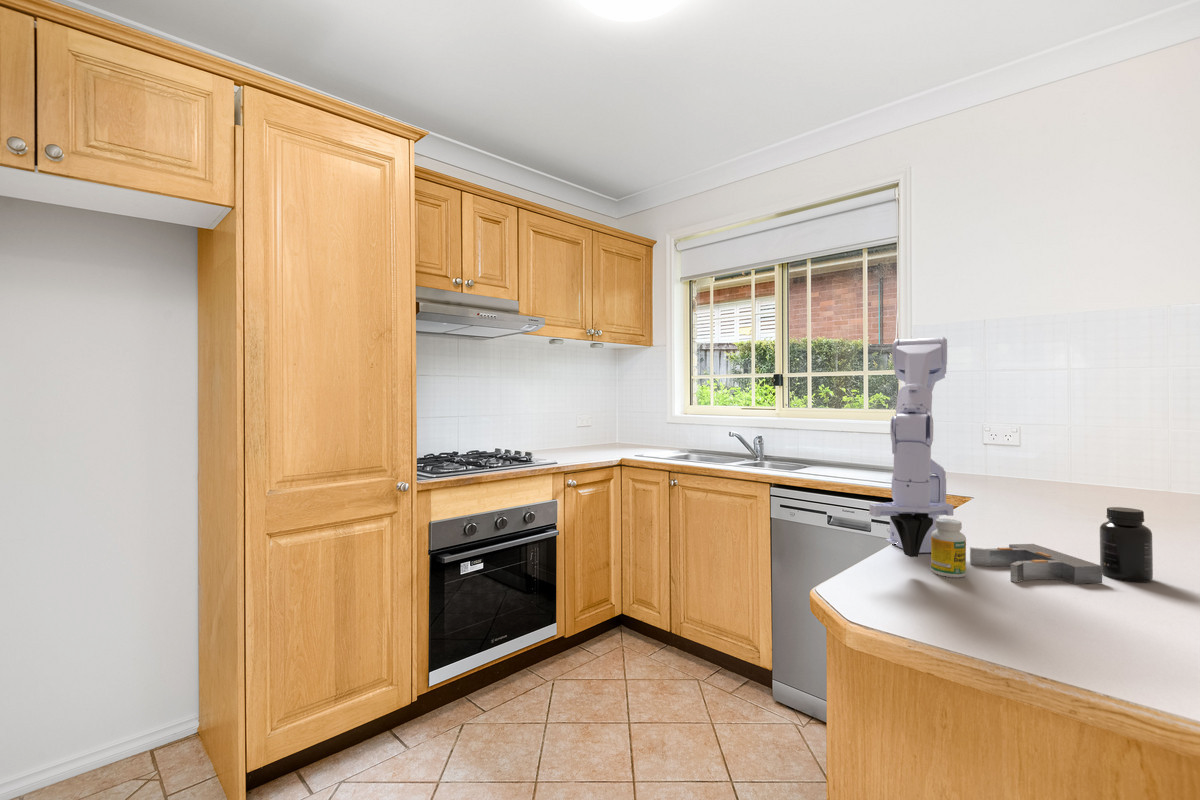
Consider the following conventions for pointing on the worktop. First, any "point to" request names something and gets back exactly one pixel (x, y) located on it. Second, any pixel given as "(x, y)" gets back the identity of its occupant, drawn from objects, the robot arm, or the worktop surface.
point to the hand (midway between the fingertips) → (910, 555)
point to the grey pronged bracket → (1038, 563)
